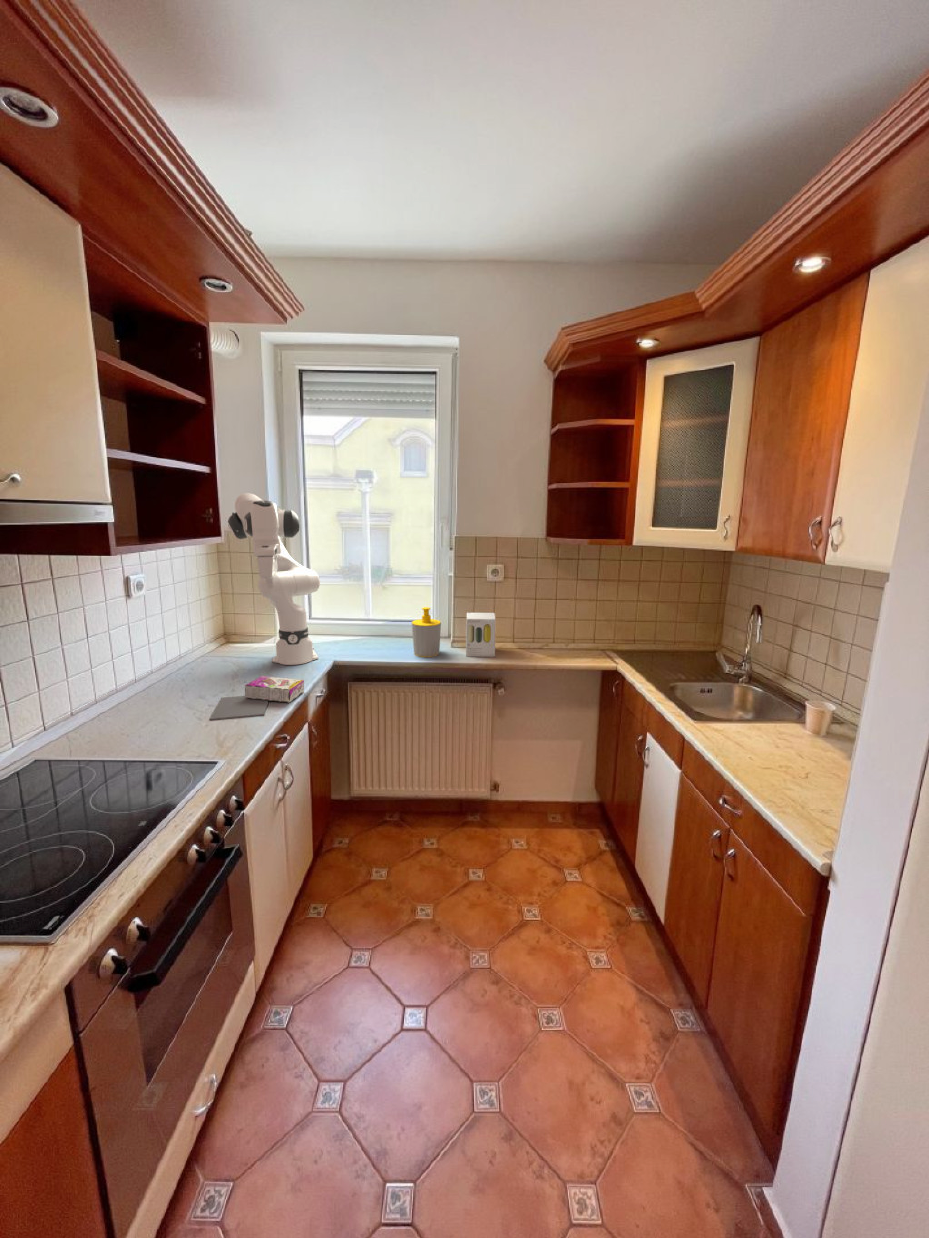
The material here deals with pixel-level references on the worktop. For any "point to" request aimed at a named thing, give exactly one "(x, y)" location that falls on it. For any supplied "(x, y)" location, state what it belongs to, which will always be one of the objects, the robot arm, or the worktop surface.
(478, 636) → the supplement box
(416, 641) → the soap bottle
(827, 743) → the worktop surface
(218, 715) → the mat
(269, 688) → the candy bar box
